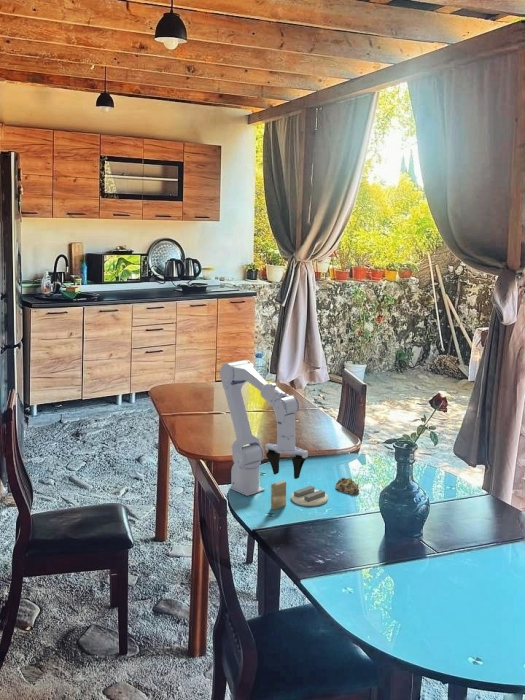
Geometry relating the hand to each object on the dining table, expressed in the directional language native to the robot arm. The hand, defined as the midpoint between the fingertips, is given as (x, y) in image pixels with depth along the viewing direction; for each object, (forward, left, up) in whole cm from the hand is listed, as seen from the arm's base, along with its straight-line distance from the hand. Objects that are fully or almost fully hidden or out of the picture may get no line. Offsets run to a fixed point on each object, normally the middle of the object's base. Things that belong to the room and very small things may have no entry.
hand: (286, 475), depth 231 cm
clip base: (0, +10, -11) cm, 15 cm away
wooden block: (-2, -2, -11) cm, 11 cm away
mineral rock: (+3, +26, -11) cm, 28 cm away
